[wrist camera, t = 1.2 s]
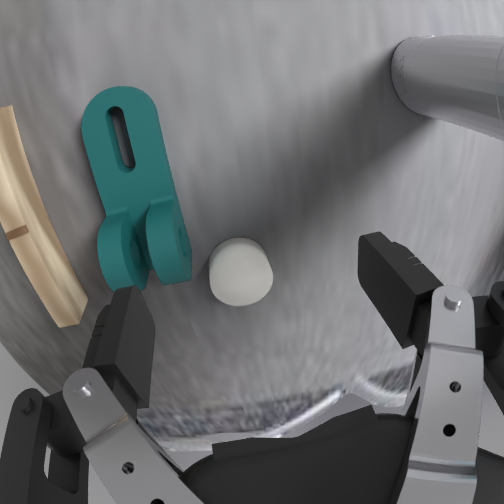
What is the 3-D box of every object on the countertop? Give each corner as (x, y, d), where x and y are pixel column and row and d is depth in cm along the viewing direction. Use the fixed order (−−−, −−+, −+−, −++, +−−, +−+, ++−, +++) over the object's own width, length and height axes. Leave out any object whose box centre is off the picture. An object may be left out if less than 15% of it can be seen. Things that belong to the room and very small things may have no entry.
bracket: (191, 249, 32) (191, 295, 26) (132, 262, 32) (119, 309, 25) (150, 77, 23) (132, 74, 16) (82, 99, 23) (45, 106, 16)
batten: (11, 105, 21) (-14, 111, 17) (88, 298, 33) (78, 324, 29) (-8, 117, 20) (-34, 125, 16) (69, 302, 33) (58, 328, 29)
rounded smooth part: (261, 230, 33) (268, 247, 30) (270, 279, 36) (276, 297, 33) (201, 245, 32) (202, 262, 29) (216, 292, 36) (218, 311, 33)
